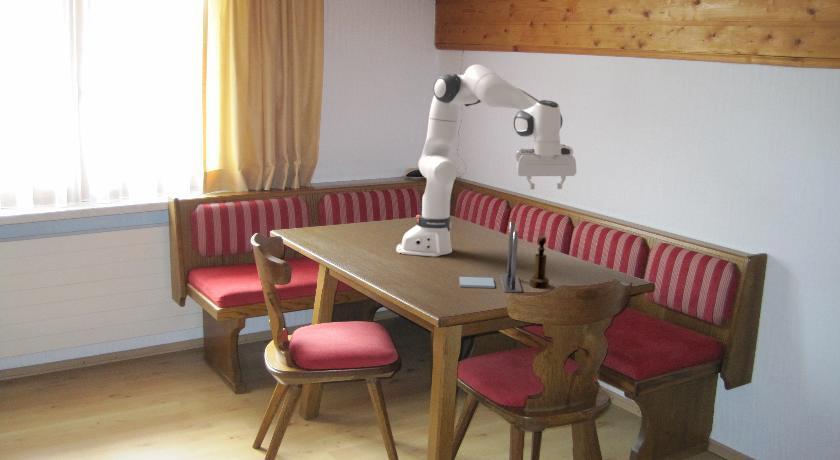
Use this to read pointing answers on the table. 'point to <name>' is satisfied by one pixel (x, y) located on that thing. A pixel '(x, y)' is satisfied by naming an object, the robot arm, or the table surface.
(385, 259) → the table surface
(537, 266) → the wooden turned spindle
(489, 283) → the mat
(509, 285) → the retort stand
